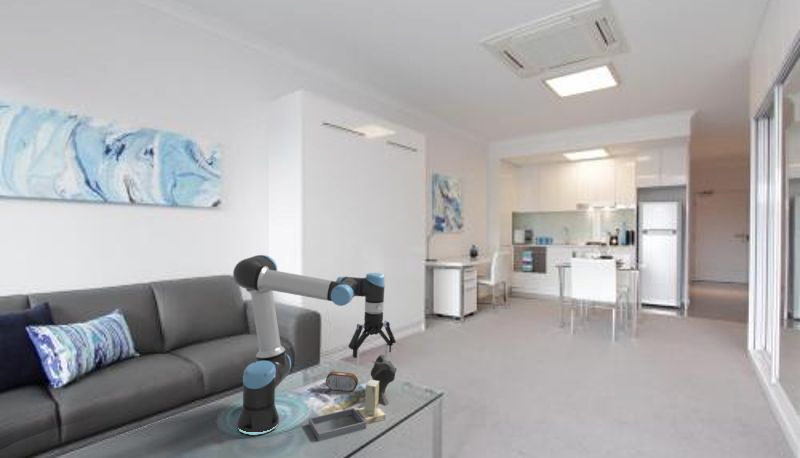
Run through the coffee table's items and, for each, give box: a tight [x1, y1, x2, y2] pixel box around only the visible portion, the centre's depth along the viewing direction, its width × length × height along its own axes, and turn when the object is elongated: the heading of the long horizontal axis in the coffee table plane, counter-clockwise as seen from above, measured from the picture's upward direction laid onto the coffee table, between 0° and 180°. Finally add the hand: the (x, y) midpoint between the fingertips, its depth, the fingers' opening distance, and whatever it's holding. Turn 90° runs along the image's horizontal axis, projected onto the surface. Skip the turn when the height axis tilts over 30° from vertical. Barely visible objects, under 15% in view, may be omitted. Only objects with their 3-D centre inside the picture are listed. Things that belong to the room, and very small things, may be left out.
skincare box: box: [364, 379, 379, 416], centre depth 167 cm, size 6×4×12 cm
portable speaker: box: [325, 371, 359, 393], centre depth 190 cm, size 15×3×8 cm, turn 84°
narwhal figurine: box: [370, 354, 397, 406], centre depth 187 cm, size 14×15×18 cm
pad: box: [355, 406, 386, 425], centre depth 168 cm, size 9×9×2 cm
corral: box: [308, 407, 367, 442], centre depth 159 cm, size 19×12×2 cm, turn 120°
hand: (371, 362), depth 167 cm, fingers open, 13 cm apart
